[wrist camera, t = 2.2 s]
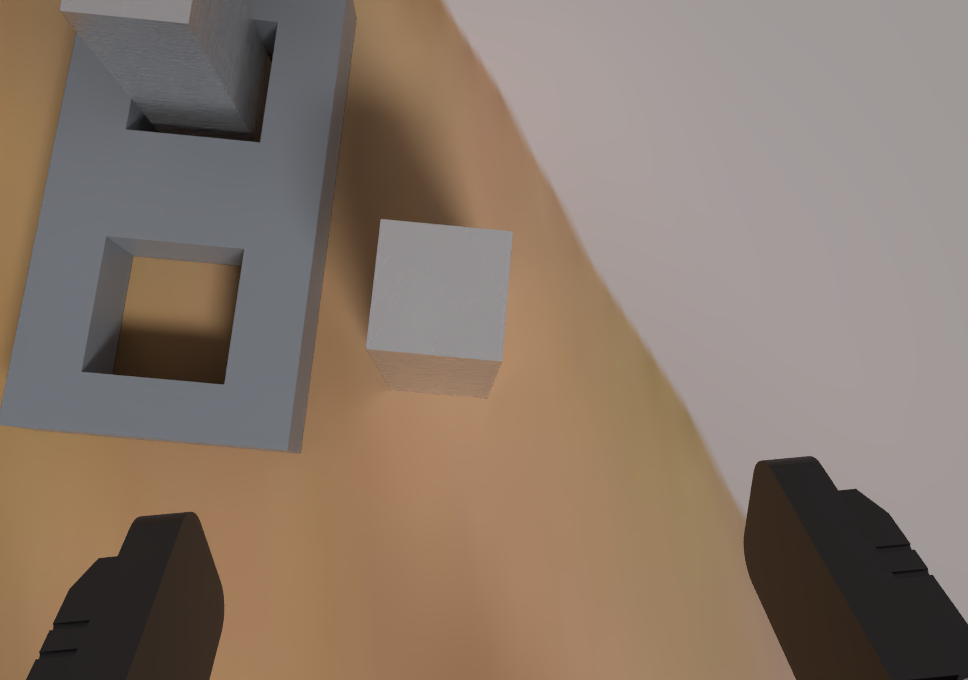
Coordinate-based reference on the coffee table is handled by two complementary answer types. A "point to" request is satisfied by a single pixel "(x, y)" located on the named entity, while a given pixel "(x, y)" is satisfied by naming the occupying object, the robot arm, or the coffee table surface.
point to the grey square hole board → (186, 246)
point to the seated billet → (182, 61)
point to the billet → (439, 307)
